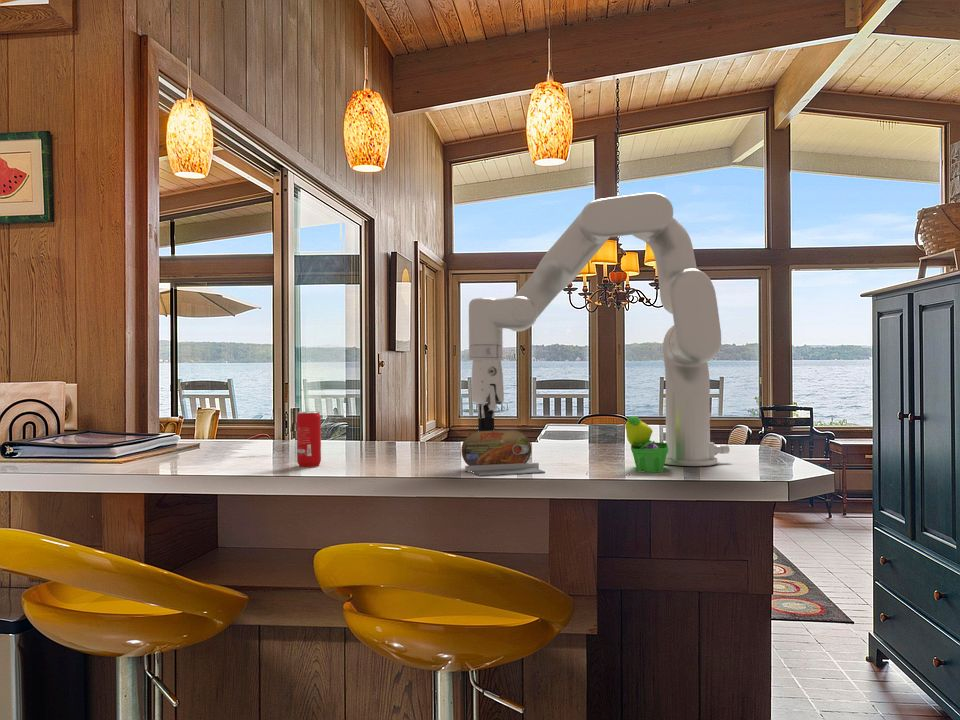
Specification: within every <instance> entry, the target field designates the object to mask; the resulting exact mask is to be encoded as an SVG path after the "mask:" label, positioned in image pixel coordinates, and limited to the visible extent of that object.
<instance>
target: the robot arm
mask: <svg viewBox="0 0 960 720" xmlns="http://www.w3.org/2000/svg"><path fill="white" fill-rule="evenodd" d="M631 235H632V236H633V237H635V238H636V239H638V240H641V241H643V242H644V243H646V244H647V245H648V246H649V247H650V249H651V250H652V253H653V256H654V260H655V266H656V272H657V278H658V286H659V287H658V288H659V298H660V302H661V305H662V306H663V308H664V310H665V311H666V312H668V313H669V314H671V315H672V318H673V325H671V327H670V328H669V329H668V330H667V331H666V333H665V335H664V338H663V342H662V353H663V364H664V373H665V374H664V375H665V376H664V378H665V443H667V445H668V448H669V450H668V453H667V455H666V459H665V464H664V465H669V466H680V467H706V466H713V465H714V466H715V465H717V464H718V458H717V457H715V456H717V455H718V454H724V455H725V454H729V453H730V446H729V445H728V444H719V445H717V444H715V442H713V441H712V442H711V421H710V420H711V414H710V413H711V411H710V409H711V406H710V404H711V403H710V398H711V397H710V396H711V395H710V392H711V388H710V387H711V385H710V384H711V382H710V371H709V370H710V369H709V366H708V365H709V364H708V362H710V361H712V360H714V358H715V357H716V356H717V355H718V353H719V352H720V349H721V346H722V330H721V323H720V322H721V321H720V315H719V308H718V307H719V306H718V299H717V295H716V290H715V289H716V288H715V287H714V284H713V282H712V280H711V278H710V277H709V275H707V274H706V273H705V272H704V271H702V270H699V269H698V268H697V263H696V258H695V257H696V256H695V253H694V248H693V247H694V246H693V244H692V240H691V237H690V235H689V233H688V230H686V228H685V227H684V226H683V225H682V223H680V222H679V221H678V220H677V219H676V218H675V217H674V207H673V204H672V202H671V201H670V199H669V198H668V197H666V196H665V195H663V194H661V193H658V192H643V193H636V194H628V195H621V196H611V197H605V198H598V199H595V200H592V201H590V202H588V203H587V204H586V205H585V206H584V207H583V209H582V211H581V212H580V213H579V214H578V215H577V217H576V218H575V219H574V220H573V221H572V222H571V223H570V225H568V227H567V228H566V229H565V231H564V232H563V233H562V234H561V235H560V237H559V238H558V239H557V241H555V243H554V244H552V246H551V247H550V248H549V250H548V251H546V253H545V254H544V255H543V257H542V258H541V260H540V262H539V263H538V265H537V266H536V267H535V270H534V271H533V272H532V274H531V275H530V276H529V278H528V279H527V280H526V281H525V283H524V284H523V285H522V286H521V288H520V289H518V291H517V292H516V293H515V294H514V296H509V297H504V298H495V297H478V298H473V299H471V300H470V301H469V304H468V360H469V361H472V363H471V365H472V366H471V400H472V402H473V403H475V404H476V408H477V415H478V418H477V419H478V420H477V421H478V425H477V426H478V427H477V428H478V430H477V431H495V411H496V410H497V406H496V405H502V404H504V402H505V396H504V395H505V394H504V392H505V391H504V374H503V368H502V367H503V366H502V365H503V364H502V360H504V358H503V353H504V352H503V351H504V350H503V347H504V346H503V344H504V342H503V331H504V330H503V329H508V330H510V331H513V332H516V333H517V332H524V331H527V330H528V329H530V328H531V327H532V326H533V325H534V324H535V322H536V321H537V319H538V318H539V317H540V316H541V314H542V313H543V312H544V311H545V310H546V308H547V307H549V305H550V304H551V303H552V302H553V300H554V299H555V298H556V297H557V296H558V295H559V294H561V292H562V291H563V290H564V289H566V288H568V286H570V284H571V283H572V282H573V281H574V280H575V279H576V278H577V276H578V275H579V274H580V273H581V272H582V270H583V269H584V268H585V267H586V266H587V264H588V263H589V262H590V261H591V260H592V258H593V257H594V256H596V254H597V253H598V252H599V250H600V249H602V247H603V246H604V245H605V243H606V242H607V241H608V240H609V239H610V238H614V237H622V236H631Z"/></svg>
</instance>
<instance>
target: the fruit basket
mask: <svg viewBox="0 0 960 720" xmlns="http://www.w3.org/2000/svg"><path fill="white" fill-rule="evenodd" d="M626 419H627V420H626V422H625V425H624V427H625V431H626V438H627V441H628V443H629V444H630V450H631V453H632V456H633V459H634V464H635V468H636V472H637V471H647V472H646V473H663V472H664V469H665V465H666V464H665V459H666V455H667V453H668V450H669V448H668V445H667V443H666V442H655V441H654V440H650V439H651V436H652V434H653V429H652V428H651V426H649V425H648V424H647V423H646V422H644V421H643V420H641V419H640V418H639V417H638V416H636V415H632V416H629V417H627V418H626Z"/></svg>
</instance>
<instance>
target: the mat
mask: <svg viewBox="0 0 960 720" xmlns="http://www.w3.org/2000/svg"><path fill="white" fill-rule="evenodd" d="M539 465H540V463H539V462H526V463H518V464H497V465H476V466H469V465H465V466H464V468H465V469H464V472H465V471H472V472H474V473H476V474H478V475H496V476H502V475H501V474H516V475H528V474H527V473H535V474H545V473H546V471H545V470H542V469H540V467H539ZM472 472H471V473H472ZM474 473H473V474H474ZM476 474H475V475H476ZM478 475H477V476H478Z"/></svg>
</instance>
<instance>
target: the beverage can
mask: <svg viewBox="0 0 960 720" xmlns="http://www.w3.org/2000/svg"><path fill="white" fill-rule="evenodd" d="M320 413H321V412H320V411H311V410H310V411H299V412H297V416H296V462H297V464H298V467H299V466H300V468H316V467H317V466H318V467H319V466H320V464H321V462H322V420H321V419H322V418H321V414H320Z"/></svg>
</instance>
